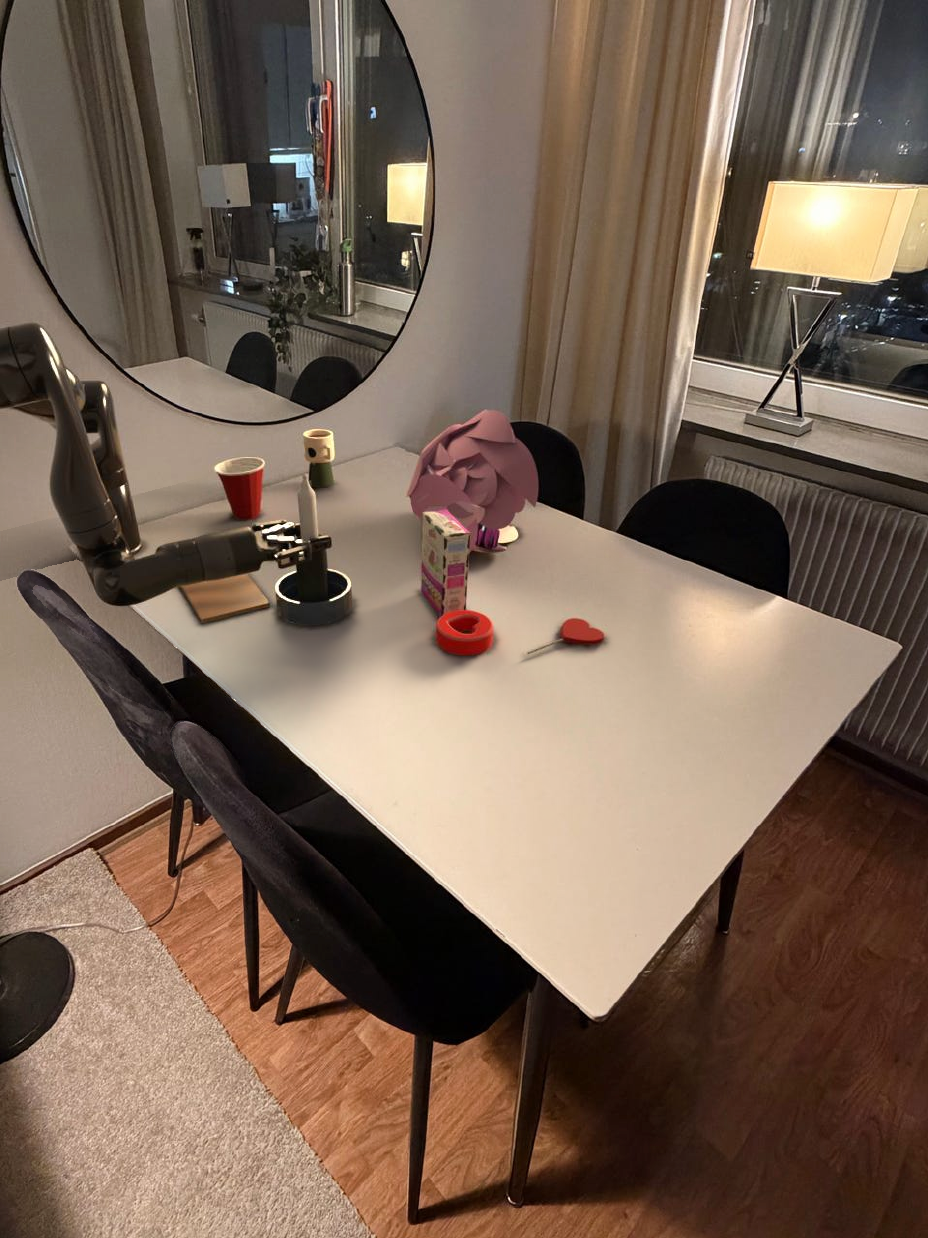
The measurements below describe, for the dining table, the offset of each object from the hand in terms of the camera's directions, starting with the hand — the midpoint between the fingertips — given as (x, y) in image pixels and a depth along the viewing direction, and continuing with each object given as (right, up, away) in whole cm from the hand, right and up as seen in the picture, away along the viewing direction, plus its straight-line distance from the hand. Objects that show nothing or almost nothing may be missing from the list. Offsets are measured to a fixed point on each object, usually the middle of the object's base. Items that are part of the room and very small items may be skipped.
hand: (322, 533), depth 126 cm
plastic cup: (-25, +9, +39) cm, 47 cm away
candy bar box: (+20, -12, +9) cm, 25 cm away
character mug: (-11, +18, +56) cm, 60 cm away
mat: (-21, -9, +10) cm, 25 cm away
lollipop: (+41, -19, -1) cm, 45 cm away
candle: (-3, -13, +6) cm, 14 cm away
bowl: (-3, -13, +6) cm, 14 cm away
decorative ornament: (+24, -18, -1) cm, 30 cm away
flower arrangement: (+26, +4, +35) cm, 44 cm away
